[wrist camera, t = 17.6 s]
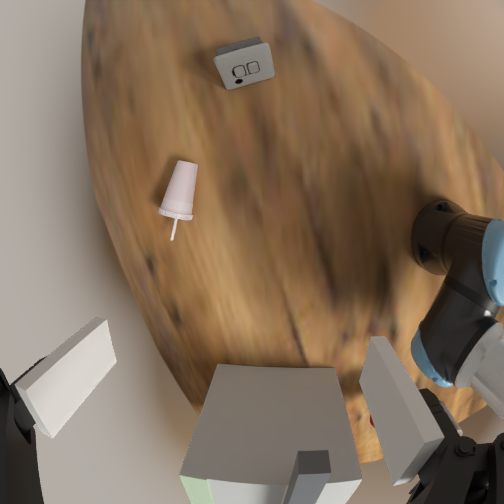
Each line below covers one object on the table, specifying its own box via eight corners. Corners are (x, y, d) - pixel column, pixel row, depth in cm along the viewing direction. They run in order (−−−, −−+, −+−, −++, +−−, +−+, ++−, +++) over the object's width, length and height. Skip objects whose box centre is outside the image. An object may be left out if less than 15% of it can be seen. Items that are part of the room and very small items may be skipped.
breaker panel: (217, 363, 57) (179, 474, 28) (335, 367, 55) (362, 480, 26) (221, 413, 61) (194, 511, 32) (323, 417, 59) (335, 517, 29)
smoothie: (212, 168, 47) (194, 244, 49) (188, 164, 50) (172, 235, 52) (186, 160, 41) (167, 244, 44) (163, 157, 44) (145, 234, 47)
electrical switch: (227, 91, 44) (215, 68, 35) (220, 71, 44) (208, 46, 35) (275, 78, 43) (273, 52, 34) (267, 57, 43) (263, 31, 34)
